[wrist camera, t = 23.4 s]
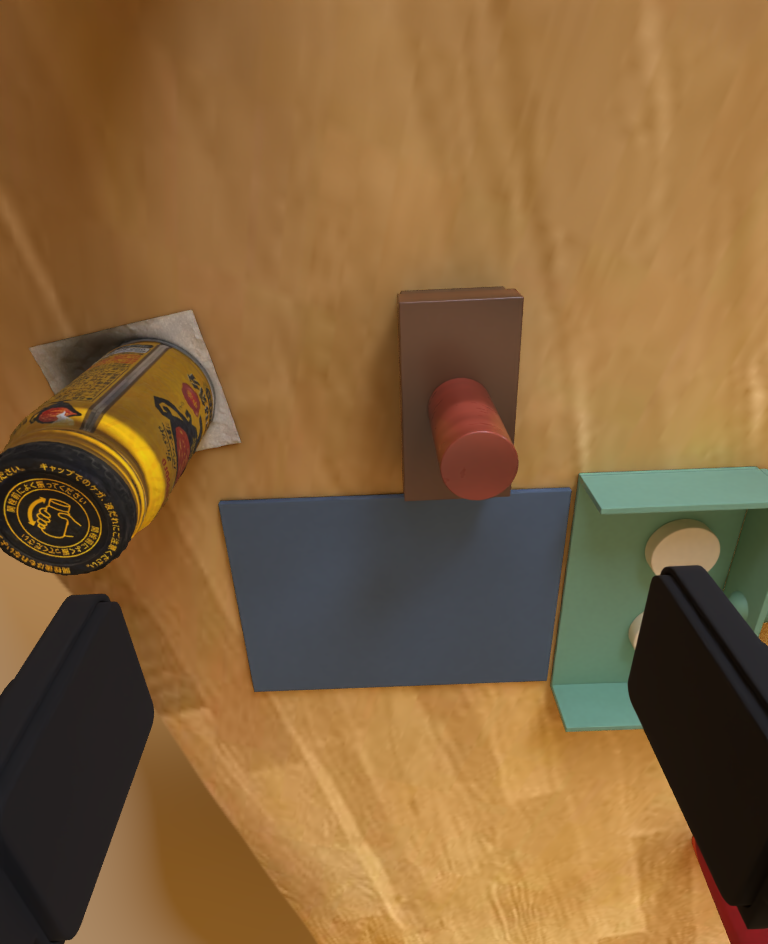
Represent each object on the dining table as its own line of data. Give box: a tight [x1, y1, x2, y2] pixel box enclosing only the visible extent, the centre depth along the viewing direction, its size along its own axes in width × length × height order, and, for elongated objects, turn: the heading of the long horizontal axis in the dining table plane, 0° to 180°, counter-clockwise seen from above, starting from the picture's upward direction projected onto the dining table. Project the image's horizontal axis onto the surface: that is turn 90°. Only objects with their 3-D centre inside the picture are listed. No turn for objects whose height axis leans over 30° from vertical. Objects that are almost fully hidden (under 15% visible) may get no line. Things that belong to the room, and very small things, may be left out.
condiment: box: [0, 310, 241, 575], centre depth 26 cm, size 7×8×12 cm
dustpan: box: [550, 467, 768, 732], centre depth 36 cm, size 20×17×4 cm
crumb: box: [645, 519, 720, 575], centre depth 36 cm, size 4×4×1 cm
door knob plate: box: [397, 286, 524, 501], centre depth 27 cm, size 10×5×9 cm, turn 2°
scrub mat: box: [218, 488, 572, 692], centre depth 38 cm, size 15×20×1 cm
